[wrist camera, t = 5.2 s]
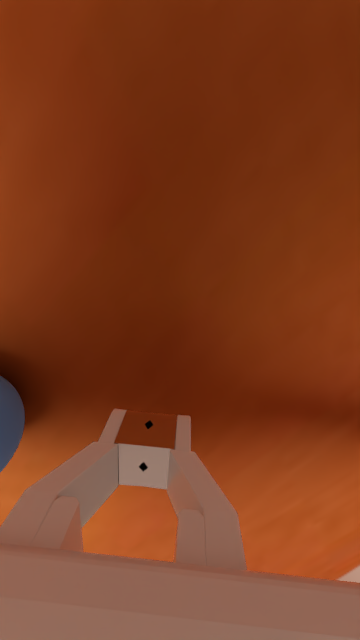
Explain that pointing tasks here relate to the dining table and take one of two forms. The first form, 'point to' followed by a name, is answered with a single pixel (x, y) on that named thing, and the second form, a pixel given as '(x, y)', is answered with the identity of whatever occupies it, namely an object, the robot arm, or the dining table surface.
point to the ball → (10, 421)
